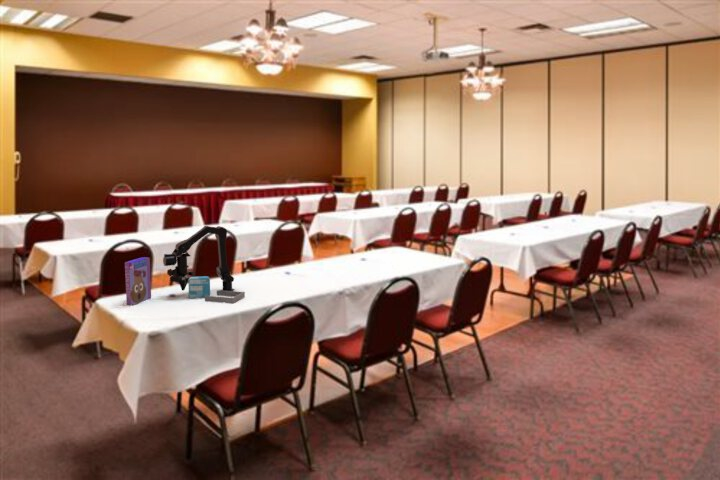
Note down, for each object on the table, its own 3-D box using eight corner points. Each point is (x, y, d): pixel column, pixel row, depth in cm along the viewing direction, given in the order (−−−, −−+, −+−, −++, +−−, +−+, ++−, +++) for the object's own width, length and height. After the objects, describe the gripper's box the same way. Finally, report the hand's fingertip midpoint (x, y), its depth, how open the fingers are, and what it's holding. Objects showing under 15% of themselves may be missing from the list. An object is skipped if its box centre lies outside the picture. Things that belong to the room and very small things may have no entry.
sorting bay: (217, 295, 361) (217, 290, 361) (244, 297, 357) (244, 292, 356) (204, 301, 346) (204, 296, 346) (233, 303, 342) (233, 298, 342)
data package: (189, 298, 352) (188, 278, 350) (188, 297, 356) (188, 277, 354) (210, 297, 355) (209, 277, 353) (209, 295, 359) (209, 275, 358)
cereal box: (134, 305, 336) (132, 262, 332) (126, 304, 337) (124, 262, 333) (151, 297, 353) (149, 257, 349) (143, 297, 354) (142, 256, 350)
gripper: (178, 260, 366) (179, 286, 369) (161, 266, 348) (162, 293, 351) (194, 261, 364) (195, 287, 366) (178, 267, 346) (179, 294, 348)
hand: (183, 290), depth 358 cm, fingers closed
